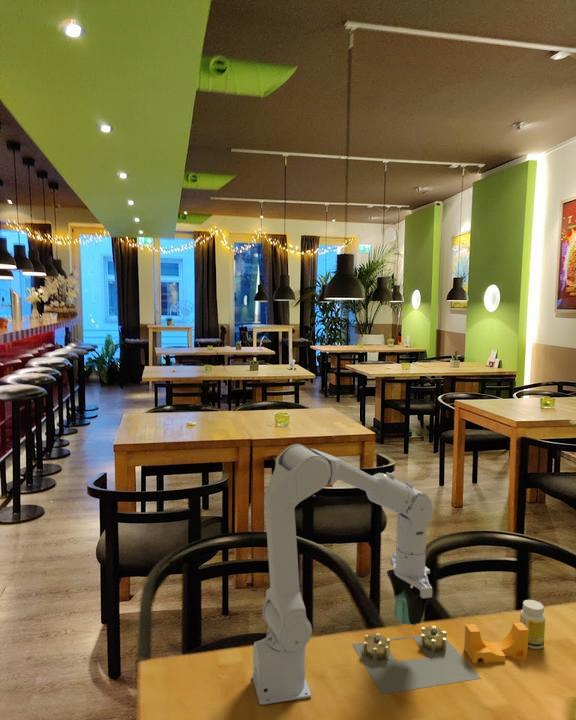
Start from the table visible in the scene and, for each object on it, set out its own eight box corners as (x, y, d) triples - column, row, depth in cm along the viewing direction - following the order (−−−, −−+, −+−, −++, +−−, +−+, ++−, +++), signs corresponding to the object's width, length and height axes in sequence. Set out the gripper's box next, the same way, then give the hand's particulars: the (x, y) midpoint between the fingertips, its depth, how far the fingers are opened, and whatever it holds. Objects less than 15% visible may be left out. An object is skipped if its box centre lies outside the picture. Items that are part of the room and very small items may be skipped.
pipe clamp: (473, 668, 105) (474, 637, 104) (463, 654, 109) (465, 624, 108) (531, 666, 106) (533, 634, 105) (520, 652, 110) (522, 622, 109)
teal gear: (402, 626, 104) (403, 606, 104) (390, 611, 109) (391, 592, 109) (426, 623, 105) (427, 603, 105) (413, 609, 110) (414, 589, 110)
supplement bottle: (548, 644, 112) (550, 606, 112) (535, 652, 110) (538, 613, 109) (527, 633, 116) (529, 596, 116) (514, 640, 114) (516, 602, 113)
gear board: (381, 699, 95) (382, 678, 95) (351, 648, 110) (352, 630, 109) (481, 683, 100) (482, 662, 100) (439, 636, 115) (440, 618, 114)
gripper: (448, 563, 100) (445, 632, 101) (412, 532, 114) (410, 594, 115) (413, 566, 98) (410, 637, 99) (381, 535, 112) (379, 597, 113)
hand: (408, 614), depth 107 cm, fingers closed on teal gear, 5 cm apart
